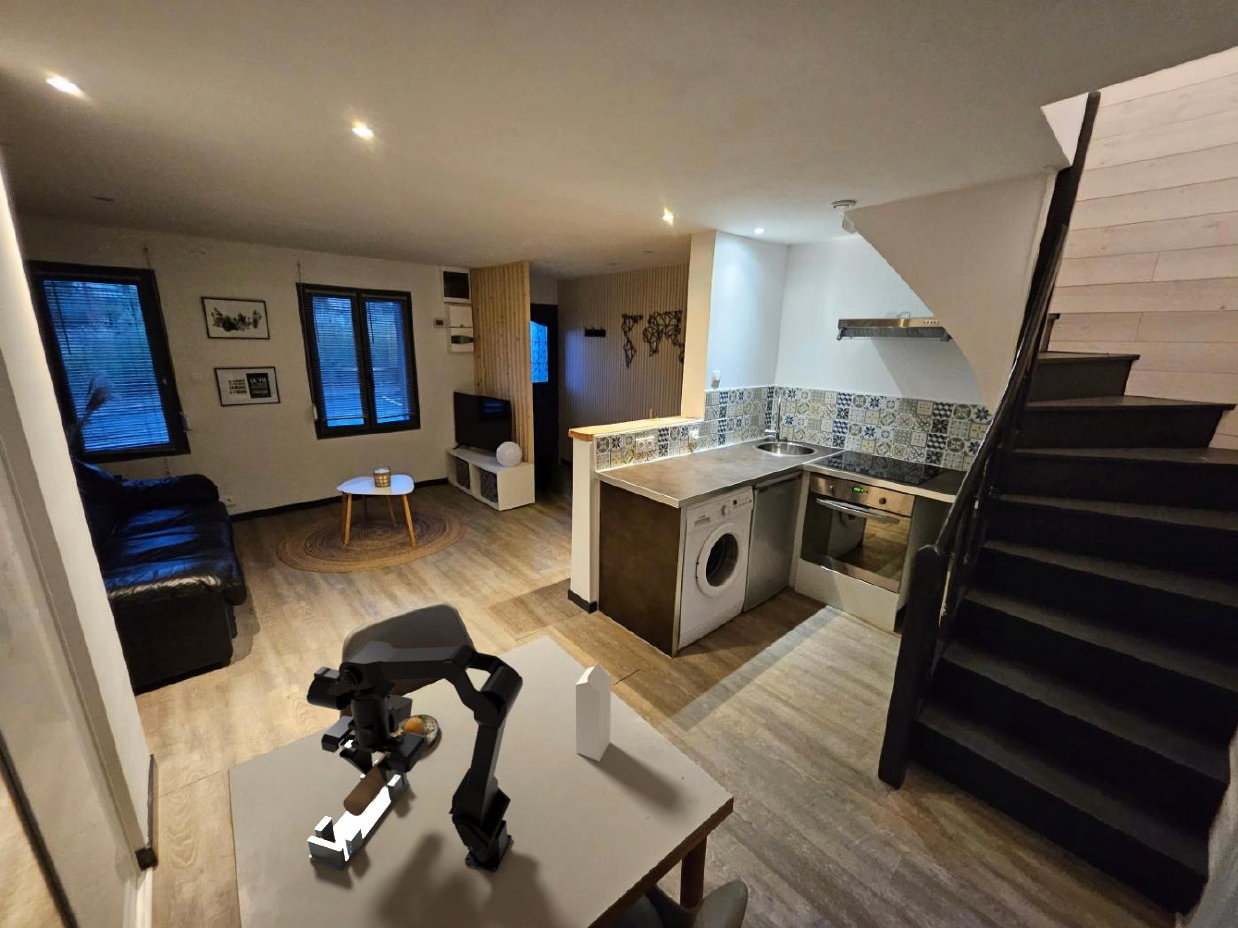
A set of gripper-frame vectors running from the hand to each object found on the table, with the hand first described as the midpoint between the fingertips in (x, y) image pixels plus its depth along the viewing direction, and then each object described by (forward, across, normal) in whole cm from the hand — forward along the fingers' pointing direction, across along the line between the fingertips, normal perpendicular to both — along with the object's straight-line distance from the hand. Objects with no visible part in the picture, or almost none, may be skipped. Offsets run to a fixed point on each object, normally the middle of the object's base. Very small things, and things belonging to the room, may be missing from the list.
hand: (379, 778), depth 90 cm
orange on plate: (+12, +8, -19) cm, 24 cm away
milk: (+12, -34, -28) cm, 45 cm away
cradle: (+12, +5, 0) cm, 13 cm away
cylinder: (+1, 0, 0) cm, 1 cm away
